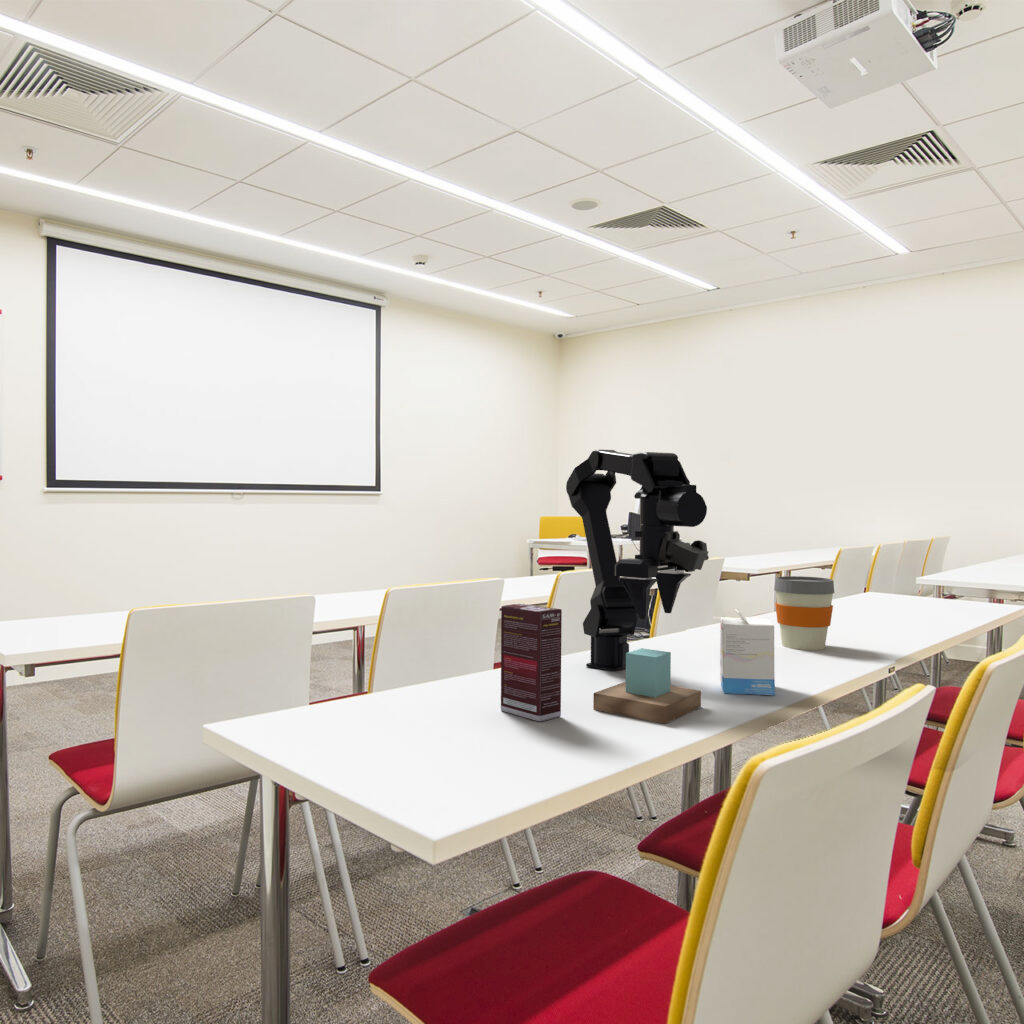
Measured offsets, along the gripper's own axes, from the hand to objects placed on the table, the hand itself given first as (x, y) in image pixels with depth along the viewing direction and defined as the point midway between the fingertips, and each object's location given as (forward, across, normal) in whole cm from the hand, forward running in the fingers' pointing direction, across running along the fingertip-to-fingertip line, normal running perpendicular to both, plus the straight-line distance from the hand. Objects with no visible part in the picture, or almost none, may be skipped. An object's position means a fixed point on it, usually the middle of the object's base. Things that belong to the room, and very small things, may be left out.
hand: (655, 615), depth 132 cm
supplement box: (+12, -28, +6) cm, 31 cm away
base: (+12, -14, -6) cm, 19 cm away
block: (+10, -14, -6) cm, 18 cm away
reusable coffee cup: (+12, +55, -8) cm, 57 cm away
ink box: (+12, +8, -13) cm, 20 cm away
